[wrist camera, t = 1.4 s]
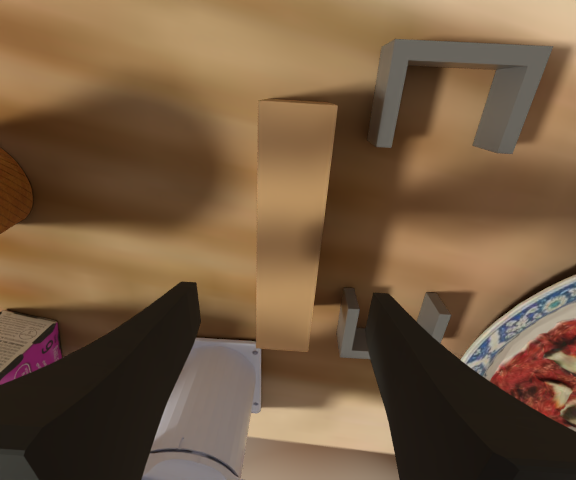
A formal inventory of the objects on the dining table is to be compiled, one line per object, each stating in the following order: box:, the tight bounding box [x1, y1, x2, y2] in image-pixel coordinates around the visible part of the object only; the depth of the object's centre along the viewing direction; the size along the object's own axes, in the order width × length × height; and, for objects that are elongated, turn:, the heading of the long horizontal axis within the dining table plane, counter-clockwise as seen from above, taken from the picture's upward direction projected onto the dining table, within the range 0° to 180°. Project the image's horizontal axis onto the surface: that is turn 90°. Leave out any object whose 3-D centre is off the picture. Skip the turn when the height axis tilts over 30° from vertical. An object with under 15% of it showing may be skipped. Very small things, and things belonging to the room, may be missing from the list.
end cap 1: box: [336, 288, 451, 359], centre depth 23 cm, size 5×7×2 cm, turn 87°
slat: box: [256, 99, 338, 352], centre depth 18 cm, size 15×4×5 cm, turn 177°
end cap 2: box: [367, 39, 553, 154], centre depth 16 cm, size 5×7×2 cm, turn 88°
